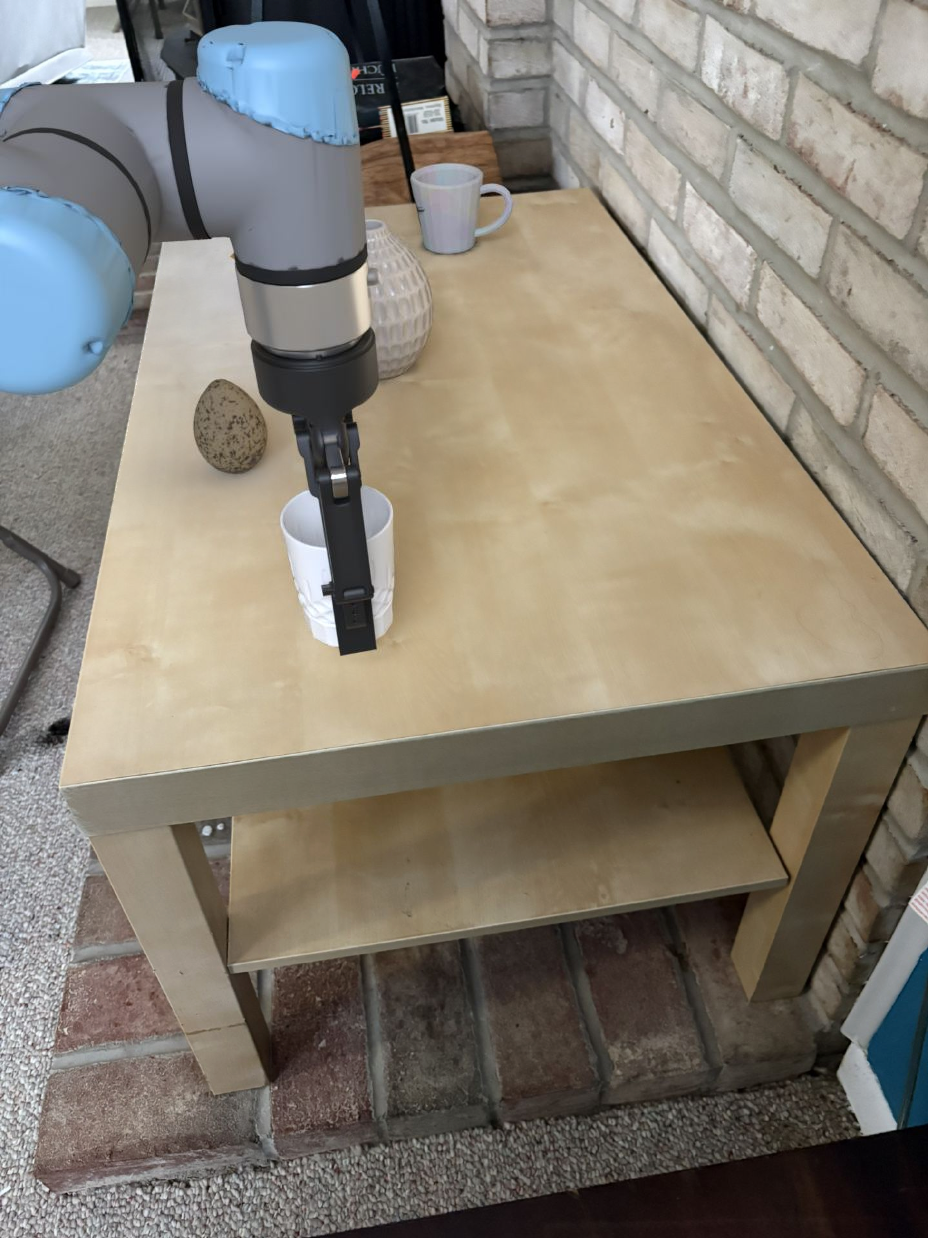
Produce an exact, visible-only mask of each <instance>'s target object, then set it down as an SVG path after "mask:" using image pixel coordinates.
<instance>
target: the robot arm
mask: <svg viewBox="0 0 928 1238" xmlns="http://www.w3.org/2000/svg"><path fill="white" fill-rule="evenodd" d="M196 53H197V63H198V64H197V67H196V70H195V71H196V76H187V77H185V78H184V79H174V80H163V81H160V80H158V81H156V80H155V81H129V82H127V81H125V82H101V83H100V82H96V83H95V82H93V83H67V84H66V83H65V84H64V83H63V84H61V83H60V84H48V83H42V82H41V81H29V82H26V81H25V82H23V83H21V84H20V85H19V86H14V87H5V88H3V87H2V88H0V392H3V393H7V394H10V395H21V396H39V395H48V394H53V393H57V392H61V391H64V390H67V389H69V388H71V387H74V386H76V385H77V384H79V383H81V382H84V381H85V380H86V379H87V378H88V377H89V376H91V375H92V374H93V373H94V372H95V371H96V370H97V368H98V367H100V366H101V364H102V363H103V361H104V360H105V358H106V356H107V354H108V353H109V351H110V349H111V347H112V346H113V344H114V342H115V340H116V338H117V337H118V334H119V333H120V331H121V329H123V328H124V327H125V326H127V324H128V323H129V321H130V318H131V315H132V313H133V310H134V306H135V302H136V296H135V293H136V292H135V291H136V288H137V285H138V282H139V279H140V276H141V272H142V269H143V266H144V265H145V263H146V262H147V258H148V255H149V253H150V251H151V247H152V245H153V244H156V243H157V244H158V243H169V242H170V243H173V242H188V241H203V240H204V241H205V240H206V241H207V240H212V239H214V238H227V239H229V240H230V243H231V247H232V250H233V253H234V258H235V260H234V271H235V277H236V280H237V281H236V282H237V287H238V292H239V299H240V304H241V309H242V313H243V319H244V324H245V325H244V326H245V329H246V333H247V334H248V335H249V337H250V338H251V341H250V352H251V358H252V364H253V368H254V374H255V380H256V385H257V391H258V393H259V396H260V398H261V399H262V400H263V401H264V402H265V404H267V405H268V406H269V407H271V408H272V409H273V410H275V411H278V412H281V413H283V414H286V415H289V416H290V417H291V422H292V427H293V432H294V433H293V434H294V436H295V441H296V445H297V450H298V454H299V456H300V457H301V458H302V460H303V463H304V469H305V470H304V471H305V476H306V481H307V489H309V491H310V494H311V495H312V496H314V497H316V498H318V501H319V507H320V514H321V520H322V526H323V532H324V538H325V544H326V550H327V556H328V562H329V568H330V575H331V581H330V582H329V584H325V585H321V588H322V594H323V596H329V595H331V599H332V606H333V612H334V619H335V626H336V633H337V639H338V646H339V647H338V652H339V657H343V656H348V655H353V654H359V653H364V652H370V651H376V650H378V648H377V639H376V637H375V628H374V619H373V610H372V601H371V599H372V598H373V597H374V593H375V590H374V586H372V581H371V573H370V565H369V557H368V549H367V541H366V533H365V525H364V517H363V509H362V501H361V487H362V485H363V481H362V470H361V467H360V460H359V450H360V448H361V439H360V432H359V427H358V422H357V421H354V415H353V410H354V409H355V408H356V407H359V406H361V405H363V404H364V403H366V402H367V401H368V400H370V398H371V397H372V396H373V395H374V394H375V392H376V391H377V389H378V386H379V382H380V379H379V374H378V362H377V350H376V338H375V333H374V331H373V329H372V328H371V327H370V326H371V324H372V320H373V313H372V301H371V294H370V291H369V290H368V288H367V286H374V285H376V284H379V281H380V274H379V272H378V270H377V268H368V259H367V257H368V251H367V238H366V224H365V220H366V212H365V210H366V209H365V198H364V184H363V183H364V182H363V168H362V155H361V141H360V131H359V123H358V115H357V108H356V99H355V92H354V91H355V90H354V84H353V83H354V82H353V76H352V69H351V61H350V54H349V53H348V50H347V48H346V46H345V45H344V43H343V41H341V40H340V38H339V37H338V36H337V35H336V34H335V33H334V32H333V31H331V30H329V29H328V28H325V27H323V26H319V25H317V24H314V23H313V24H312V23H307V22H298V21H279V20H276V21H275V20H274V21H273V20H272V21H271V20H270V21H256V22H252V23H250V24H233V25H232V24H231V25H227V26H223V27H219V28H216V29H213V30H211V31H209V32H208V33H206V34H205V35H204V36H202V37H201V39H200V40H199V42H198V45H197V49H196Z"/></svg>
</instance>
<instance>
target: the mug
mask: <svg viewBox="0 0 928 1238" xmlns="http://www.w3.org/2000/svg"><path fill="white" fill-rule="evenodd" d="M409 180H410V184H411V189H412V194H413V198H414V203H415V209H416V213H417V217H418V218H417V219H418V222H419V227H420V232H421V237H422V242H423V246H424V247H425V248H426V250H428V251H430V252H432V253H435V254H441V255H453V254H454V255H455V254H460V253H464V252H466V251H468V250H470V249H472V248H473V247H474V246H475V243H476V238H477V237H484V236H487V235H490V234H492V233H494V232H495V231H497V230H499V229H500V228H501V227H502V226H504V225H505V224H506V222H508V220H509V219H510V217H511V215H512V213H513V209H514V204H515V203H514V200H513V197H512V195H511V192H510V191H509V190H508V189H507V188H506V187H505V186H504V185H501V184H498V183H486V184H483V180H484V173H483V171H482V170H481V169H480V168H478V167H476V166H474V165H470V164H465V163H457V162H456V163H455V162H444V163H443V162H442V163H435V164H430V165H425V166H422V167H420V168H417V169H415V171H413V172H411V175H410V179H409ZM487 193H497V194H500V195H501V196H502V197H503V199H504V202H505V205H504V206H505V207H504V210H503V212H502V214H501V215H500V216H499V217H498V218H497V219H496V220H495V221H493V222H492V223H490V224H488V225H486V226H484V227H480V228H478V218H479V210H480V203H481V196H482V195H485V194H487Z"/></svg>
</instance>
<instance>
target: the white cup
mask: <svg viewBox="0 0 928 1238" xmlns="http://www.w3.org/2000/svg"><path fill="white" fill-rule="evenodd" d="M361 501H362V509H363V517H364V525H365V533H366V541H367V549H368V557H369V565H370V573H371V581H372V586H374V590H375V593H374V597H373V598H372V599H371V601H372V610H373V619H374V628H375V637H376V640H378V639H380V638H381V637H383V636H385V634H386V632H387V631H388V630H389V628H390V627H391V625H392V624H393V622H394V591H395V540H394V508H393V505H392V503H391V500H390V499H389V498H388V496H386V495H385V494H384V493H383V492H381V491H380V490H379V489H376V488H374V487H372V486H369V485H366V484H362V487H361ZM279 525H280V528H281V533H282V537H283V541H284V545H285V550H286V555H287V558H288V562H289V566H290V570H291V571H290V572H291V575H292V579H293V582H294V585H295V589H296V594H297V597H298V600H299V603H300V605H301V609H302V612H303V617H304V622H305V626H306V627H307V629H308V631H309V632H310V634H311V636H312V637H313V638H314V639H316V641H317V640H318V641H319V642H321V643H323V644H325V645H326V646H329V647H334V648H339V646H338V639H337V633H336V626H335V619H334V612H333V606H332V599H331V595H329V596H323V594H322V588H321V585H325V584H329V582H330V581H331V575H330V568H329V562H328V556H327V550H326V544H325V538H324V532H323V526H322V520H321V514H320V507H319V501H318V498H316V497H314V496H312V495H311V494H310V491H309V488H307V489H305V490H303V491H301V492H298V494H295V495H294V496H293V497H292V498H291V499H289V500H288V502H286V504H285V505H284V506H283V508H282V510H281V512H280V516H279Z"/></svg>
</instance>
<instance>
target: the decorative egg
mask: <svg viewBox="0 0 928 1238" xmlns="http://www.w3.org/2000/svg"><path fill="white" fill-rule="evenodd" d="M192 423H193V424H192V426H193V427H192V429H193V431H192V432H193V437H194V441H195V444H196V447H197V449H198V451H199V453H200V454H201V456H202V458H203V459H204V460H205V461H206V463H208V464H209V466H211V467H213V468H214V469H216V470H217V471H220V472H221V473H222V472H223V473H226V474H233V475H235V474H242V473H246V472H247V471H249V470H251V469H253V468H254V467H255V466H256V465H257V464H258V463H259V462H260V461H261V459H262V458H263V456H264V454H265V451H266V449H267V445H268V428H267V424H266V420H265V417H264V415H263V413H262V410H261V409H260V407H259V405H258V403H257V402H256V401H255V400H254V399H253V397H251V396H250V394H249V393H248V392H247V391H245V389H243V388H242V387H240V386H238V385H237V384H236V383H234V382H233V381H230V380H227V379H224V378H218V379H214V380H213V381H210V383H209V384H208V385H207V386H206V388H205V390H203V392H202V394H201V395H200V397H199V399H198V401H197V403H196V406H195V410H194V415H193V422H192Z"/></svg>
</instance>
